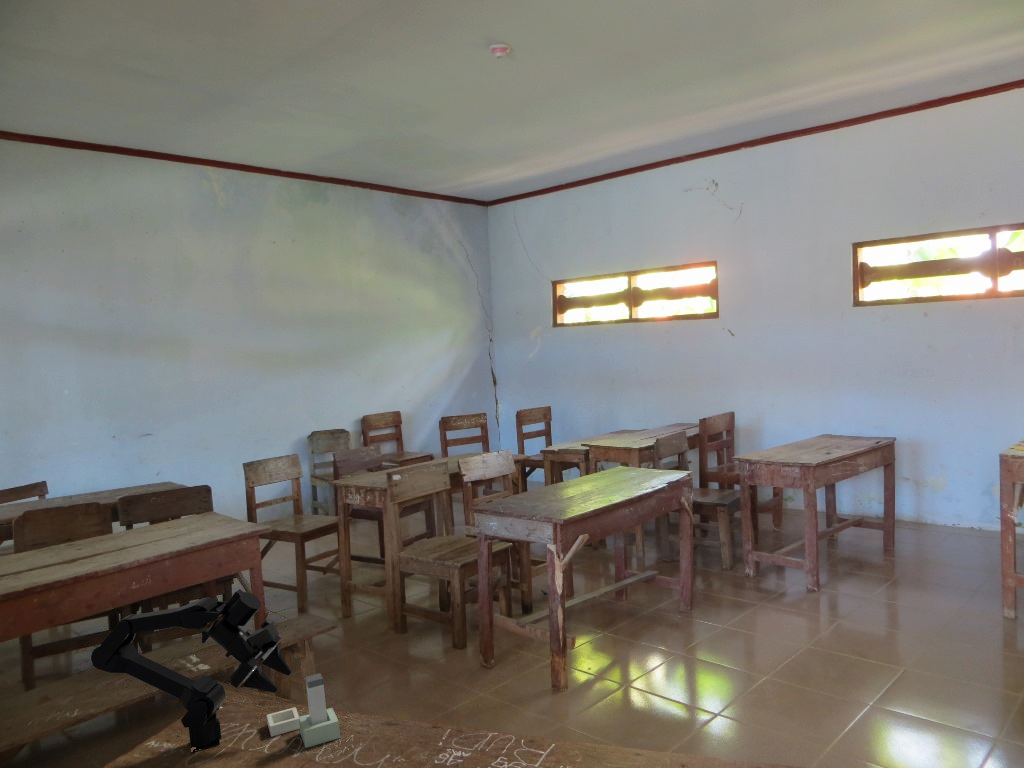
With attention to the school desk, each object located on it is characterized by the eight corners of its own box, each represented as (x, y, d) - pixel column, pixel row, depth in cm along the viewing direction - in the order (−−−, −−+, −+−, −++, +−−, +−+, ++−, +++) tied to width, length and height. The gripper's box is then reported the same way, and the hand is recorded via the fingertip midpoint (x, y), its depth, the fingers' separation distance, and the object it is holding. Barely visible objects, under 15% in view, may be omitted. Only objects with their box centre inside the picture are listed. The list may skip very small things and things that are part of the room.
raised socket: (305, 748, 170) (303, 731, 170) (300, 733, 178) (298, 717, 177) (340, 737, 174) (338, 721, 174) (333, 723, 181) (332, 707, 181)
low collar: (270, 736, 177) (269, 726, 177) (267, 724, 184) (266, 714, 184) (300, 728, 180) (299, 718, 180) (296, 716, 186) (295, 707, 186)
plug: (313, 732, 173) (307, 682, 173) (310, 726, 176) (305, 676, 176) (328, 728, 175) (322, 678, 174) (325, 722, 178) (320, 673, 177)
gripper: (238, 628, 166) (291, 674, 166) (269, 601, 185) (316, 641, 184) (207, 665, 167) (260, 710, 166) (241, 634, 185) (288, 674, 185)
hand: (283, 682), depth 176 cm, fingers open, 9 cm apart
